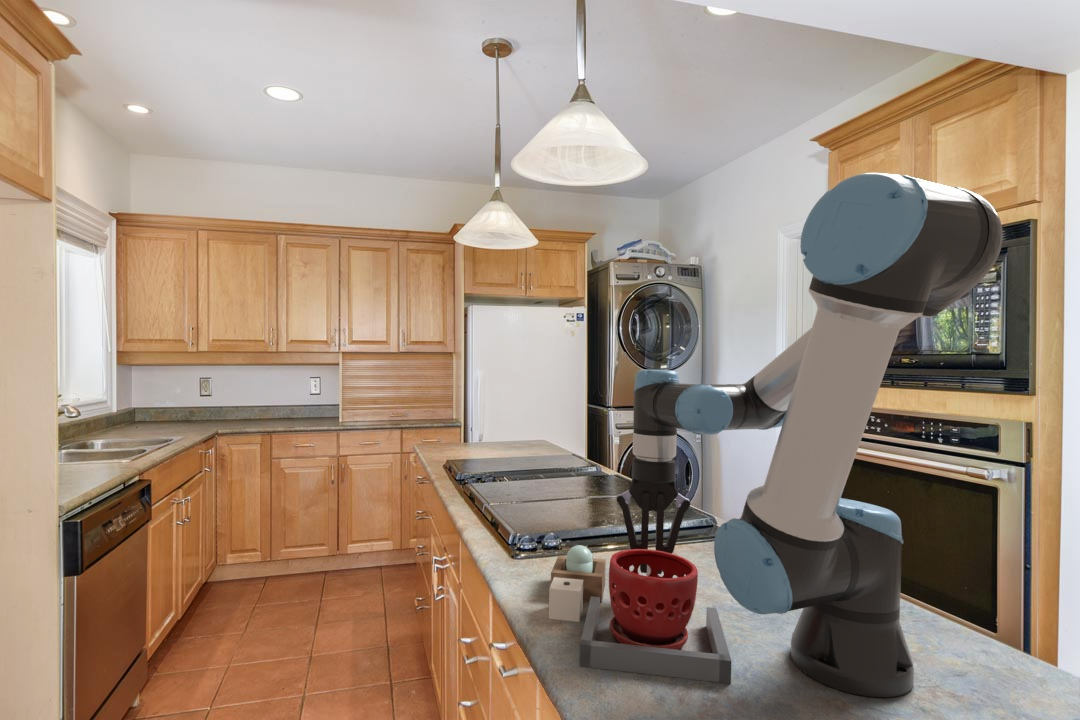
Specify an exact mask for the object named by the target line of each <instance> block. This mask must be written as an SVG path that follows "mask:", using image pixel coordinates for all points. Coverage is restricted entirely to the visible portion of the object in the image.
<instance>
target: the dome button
mask: <svg viewBox="0 0 1080 720" xmlns="http://www.w3.org/2000/svg"><path fill="white" fill-rule="evenodd" d="M566 556H567V557H566V571H576V572H588V573H592V569H593V554H592V551H591V550H590V549H589V548H588V547H587V546H584V545H581V544H578V545H574V546H572V547H570V548H569V550H568V552H567V554H566Z"/></svg>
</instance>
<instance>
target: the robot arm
mask: <svg viewBox="0 0 1080 720" xmlns="http://www.w3.org/2000/svg"><path fill="white" fill-rule="evenodd" d="M800 236H801V237H800V253H801V254H802V255H803V256H804V258H803V259H802V261H803V263H804V266H805V267H806V269H807V271H809V273H810V274H811V275H812V278H811V281H810V284H809V287H808V292H809V294H810V295H811V297H812V300H813V301H814V302H815V303H816V308H817V310H816V314H815V317H814V320H813V323H812V327H811V328H809V329H808V330H807V331H806V332H805V333H803V334H802V335H801V336H800V337H799V338H798V339H796V340H795V341H794V342H793V343H792V344H791V345H789V346H788V347H787V348H786V349H785V350H784V351H782V352H781V353H780V354H778V355H777V357H775V358H774V359H773V360H772V361H770V362H769V363H768V364H767V365H766V366H764V367H763V368H762V369H760V370H759V372H758V373H756V374H755V375H754V376H752V377H751V378H749V380H748V381H746V382H744V383H742V384H738V383H737V384H732V383H728V384H727V383H726V384H713V383H712V384H711V383H710V384H708V383H707V384H703V383H702V384H699V383H698V384H695V383H680V382H679V373H678V372H677V371H675V370H670V369H639V370H637V372H636V373H635V376H634V377H635V378H634V389H633V417H632V419H633V420H632V421H633V422H632V423H633V426H632V427H633V432H632V454H633V455H634V457H633V458H632V459H631V460H632V461H631V462H632V464H631V468H632V469H631V482H630V483H629V486H628V489H627V490H626V491H625V490H624V491H623V492H622V493H621V492H618V493H617V495H616V502H617V503H618V505H619V507H620V508H621V510H622V515H623V519H624V520H623V521H624V524H625V529H626V534H627V539H628V543H629V548H630V549H648V548H649V525H650V524H649V519H650V517H649V516H650V512H652V511H653V512H655V515H656V516H655V549H654V550H657V551H663V552H667V553H671V554H674V551H675V547H676V544H677V540H678V536H679V534H680V530H681V527H682V523H683V519H684V515H685V513H686V512H687V511H688V509H689V508H690V507H691V501H690V499H689V497H686V496H683V495H682V494H681V493H679V490H678V487H677V484H676V479H677V478H676V475H677V472H676V471H677V465H676V464H677V461H676V460H675V459H674V458H675V457H676V456H677V443H678V442H677V438H678V437H677V436H678V435H677V433H678V430H681V431H686V432H690V433H693V434H696V435H709V436H714V435H717V434H720V433H721V432H722V431H733V430H734V431H735V430H761V431H762V430H763V431H764V430H769V429H772V428H781V429H780V431H779V435H778V438H777V442H776V445H775V448H774V450H773V451H774V452H773V454H772V458H771V461H770V465H769V467H768V471H767V474H766V477H765V480H764V484H763V485H762V486H758V487H756V488H753V489H751V490H750V491H749V492H748V494H747V496H746V499H745V503H744V506H743V511H742V513H741V516H740V517H739V518H731V519H729V520H727V521H726V522H723V523H722V524H721V525H720V526H719V527H718V528H717V531H716V533H715V537H714V542H713V544H714V546H713V551H714V553H713V554H714V561H715V563H716V568H717V569H718V572H719V575H720V578H721V581H722V583H723V585H724V587H725V588H726V590H727V591H728V594H730V596H732V597H733V600H735V601H736V602H737V603H738V605H741V607H743V608H744V609H746V610H747V611H749V612H751V613H754V614H756V615H772V614H773V615H775V614H780V615H783V614H787V613H788V612H793V611H796V610H797V611H798V610H801V609H802V610H801V612H800V614H799V618H798V620H797V622H796V624H795V628H794V629H793V632H792V635H791V639H790V658H791V660H792V662H793V663H794V665H795V666H796V667H797V668H798V669H799V670H800V671H802V672H803V673H804V674H806V675H807V676H809V677H810V678H812V679H813V680H815V681H818V682H819V683H821V684H824V685H825V686H828V687H830V688H833V689H836V690H839V691H843V692H846V693H849V694H854V695H858V696H865V697H872V698H893V697H894V698H895V697H898V696H903V695H905V694H907V693H908V692H910V691H912V689H913V687H914V681H915V680H914V678H915V677H914V675H915V667H914V662H913V660H912V656H911V653H910V650H909V646H908V644H907V640H906V637H905V635H904V632H903V631H904V630H903V629H902V625H901V622H900V620H901V618H900V616H901V615H900V614H901V613H900V611H901V584H902V583H901V582H902V577H901V576H902V555H903V554H902V552H903V551H902V549H903V547H902V546H903V544H904V538H903V535H902V521H901V518H900V517H899V516H898V514H897V513H895V512H894V511H892V510H891V509H888V508H886V507H882V506H879V505H875V504H872V503H867V502H864V501H863V502H862V501H858V500H854V499H848V498H842V495H843V493H844V489H845V486H846V484H847V480H848V479H849V475H850V473H851V469H852V467H853V463H854V461H855V458H856V457H857V456H856V455H857V452H858V450H859V447H860V443H861V441H862V440H863V439H862V438H863V435H864V432H865V430H866V428H867V425H868V420H869V419H870V416H871V413H872V410H873V407H874V404H875V402H876V400H877V399H876V398H877V396H878V392H879V390H880V387H881V385H882V382H883V378H884V376H885V372H886V371H887V368H888V364H889V362H890V360H891V359H890V358H891V356H892V353H893V350H894V348H895V346H896V342H897V339H898V336H899V333H900V331H901V330H902V329H904V328H905V327H906V326H908V325H910V323H912V322H913V321H915V320H916V319H917V318H925V319H928V318H929V319H931V318H933V317H936V316H937V315H939V314H940V313H941V312H943V311H944V310H946V309H947V308H949V307H950V306H951V305H953V304H954V303H955V302H957V301H958V300H959V299H961V298H963V296H965V295H966V294H967V293H969V292H970V291H971V290H972V289H974V288H975V287H976V286H978V284H979V283H980V282H982V281H983V279H984V278H985V277H986V276H987V275H988V273H989V272H990V271H991V270H992V268H993V267H994V266H995V264H996V262H997V260H998V257H999V255H1000V252H1001V250H1002V246H1003V239H1004V236H1003V225H1002V223H1001V219H1000V217H999V215H998V213H997V212H996V209H995V208H994V207H993V206H992V204H991V203H990V202H989V201H988V200H986V199H985V198H984V197H983V196H981V195H980V194H977V193H974V192H973V191H970V190H967V189H965V188H961V187H958V186H957V187H955V186H947V185H943V184H940V183H935V182H931V181H927V180H923V179H921V178H916V177H912V176H909V175H901V174H898V173H894V174H892V173H882V172H866V173H865V172H864V173H860V174H856V175H853V176H850V177H848V178H846V179H844V180H841V181H839V182H838V183H837V184H836V185H835V186H834V187H833V188H832V189H829V190H827V191H826V192H825V193H824V194H823V195H822V196H821V197H820V198H819V199H818V201H817V202H815V204H814V205H813V207H812V208H811V210H810V211H809V213H808V216H807V217H806V220H805V222H804V224H803V228H802V232H801V235H800ZM677 429H678V430H677ZM631 497H632V499H633V500H634V502H635V503H636V505H637V506H638V508H639V509H641V522H640V524H641V525H640V527H641V528H640V542H638V539H637V534H636V531H635V525H634V521H633V516H632V512H631V507H630V504H631ZM674 500H675V503H674V504H675V507H676V508H675V512H674V515H673V518H672V522H671V526H670V529H669V534H668V536H667V539H666V544H664V528H665V527H664V524H665V523H664V521H665V511H666V510H667V509H668V508H669V507H670V505H671V504H672V503H673V502H674ZM639 570H640V573H642V574H646V575H645V576H649V575H650V573H651V569H650V567H649V566H648V565H647V564H642V565H640V566H639ZM662 573H663V571H658V575H662Z"/></svg>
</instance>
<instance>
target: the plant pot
mask: <svg viewBox="0 0 1080 720" xmlns="http://www.w3.org/2000/svg"><path fill="white" fill-rule="evenodd" d="M609 560H610V561H609V567H608V568H609V569H608V590H609V591H608V592H609V600H610V605H611V608H612V612H613V615H614V616H613V617H611V619H610V621H609V630H610V632H611V634H612V636H613V637H614V638H615V640H617V642H619V643H620V644H630V645H639V646H648V647H657V648H667V649H676V650H681V648H682V647H683V646H684V645H685V644H686V643H687V641H688V637H689V632H688V629H687V628H686V627H687V626H688V623H689V622H690V620H691V617H692V614H693V611H694V608H695V604H696V599H697V597H696V596H697V590H698V578H699V571H698V568H697V566H696V565H695V564H694V563H693V562H692V561H690V560H688V559H686V558H685V557H683V556H680V555H677V554H674V553H672V554H671V553H667V552H663V551H657V550H656V549H631V548H630V549H624V550H620V551H616V552H615V553H613V554H612V556H611V557H610V559H609ZM642 564H647V565H648V566H649V567H650V569H651V573H650V575H649V576H646V575H642V574H640V573H639V569H640V565H642ZM632 566H633V569H632V570H630V568H631V567H632ZM658 571H662V573H663V575H661V576H660V574H658ZM674 576H676V577H674Z"/></svg>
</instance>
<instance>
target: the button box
mask: <svg viewBox="0 0 1080 720" xmlns="http://www.w3.org/2000/svg"><path fill="white" fill-rule="evenodd" d="M566 557H567V555H557V557H556V560H555V563H554V564H553V567H552V569H551V572H550V584H551V583H552V581H553V579H554V577H558V578H569V579H580V580H583V602H588V603H589V602H590V598H591V596H592V597H600V604H601V603H603V599H604V591H605V587H606V572H607V571H606V569H607V568H606V566H607V565H606V564H607V559H604V558H593V569H592V573H588V572H576V571H566Z"/></svg>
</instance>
